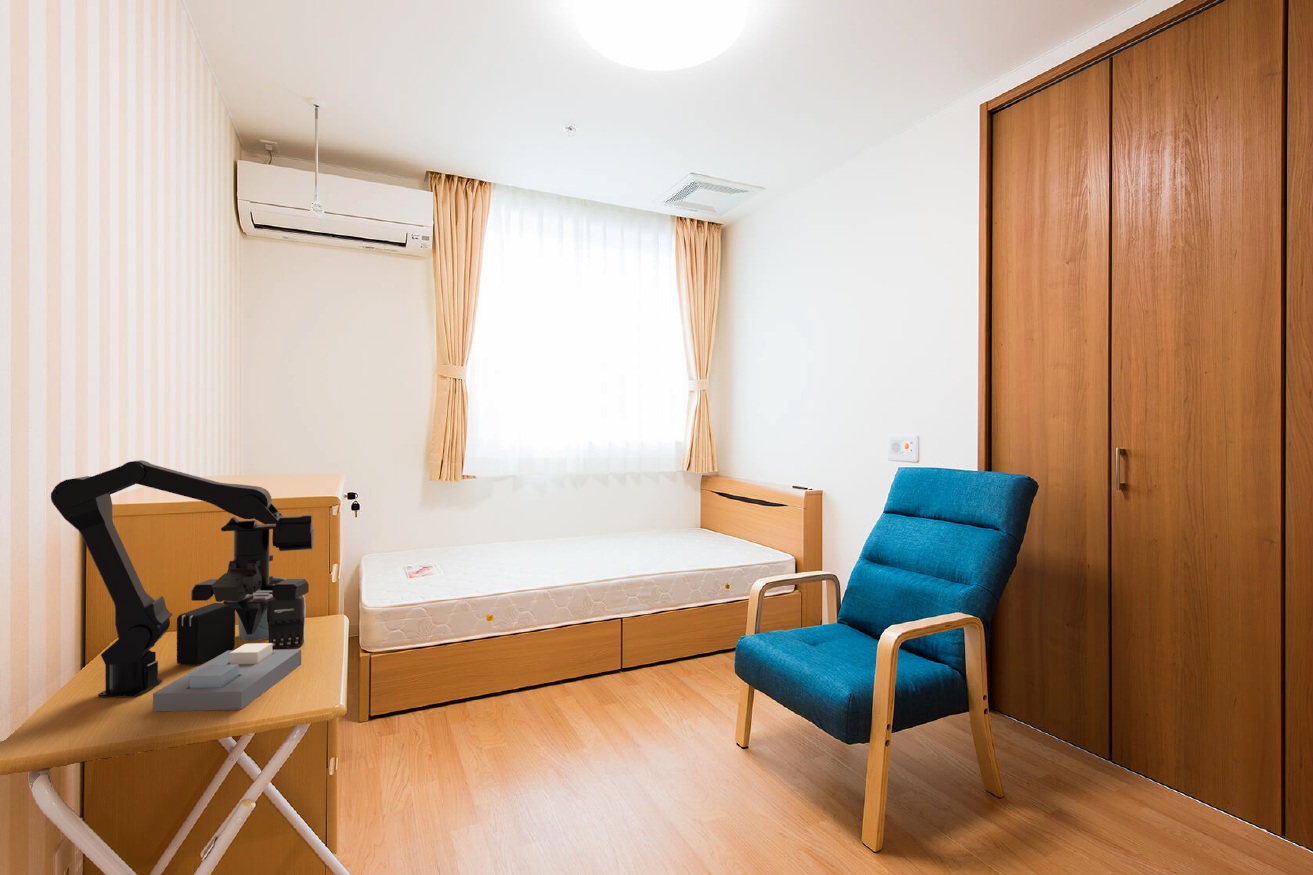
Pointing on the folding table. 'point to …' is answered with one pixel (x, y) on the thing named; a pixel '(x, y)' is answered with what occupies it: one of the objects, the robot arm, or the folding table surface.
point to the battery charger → (286, 623)
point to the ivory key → (251, 653)
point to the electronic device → (205, 633)
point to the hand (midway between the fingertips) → (250, 634)
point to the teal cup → (263, 625)
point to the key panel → (233, 694)
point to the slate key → (214, 676)
